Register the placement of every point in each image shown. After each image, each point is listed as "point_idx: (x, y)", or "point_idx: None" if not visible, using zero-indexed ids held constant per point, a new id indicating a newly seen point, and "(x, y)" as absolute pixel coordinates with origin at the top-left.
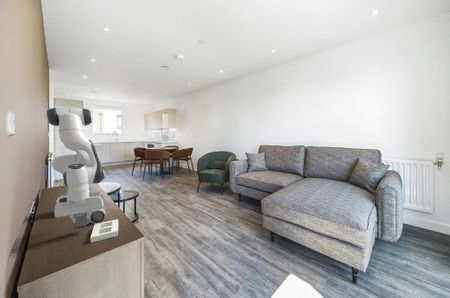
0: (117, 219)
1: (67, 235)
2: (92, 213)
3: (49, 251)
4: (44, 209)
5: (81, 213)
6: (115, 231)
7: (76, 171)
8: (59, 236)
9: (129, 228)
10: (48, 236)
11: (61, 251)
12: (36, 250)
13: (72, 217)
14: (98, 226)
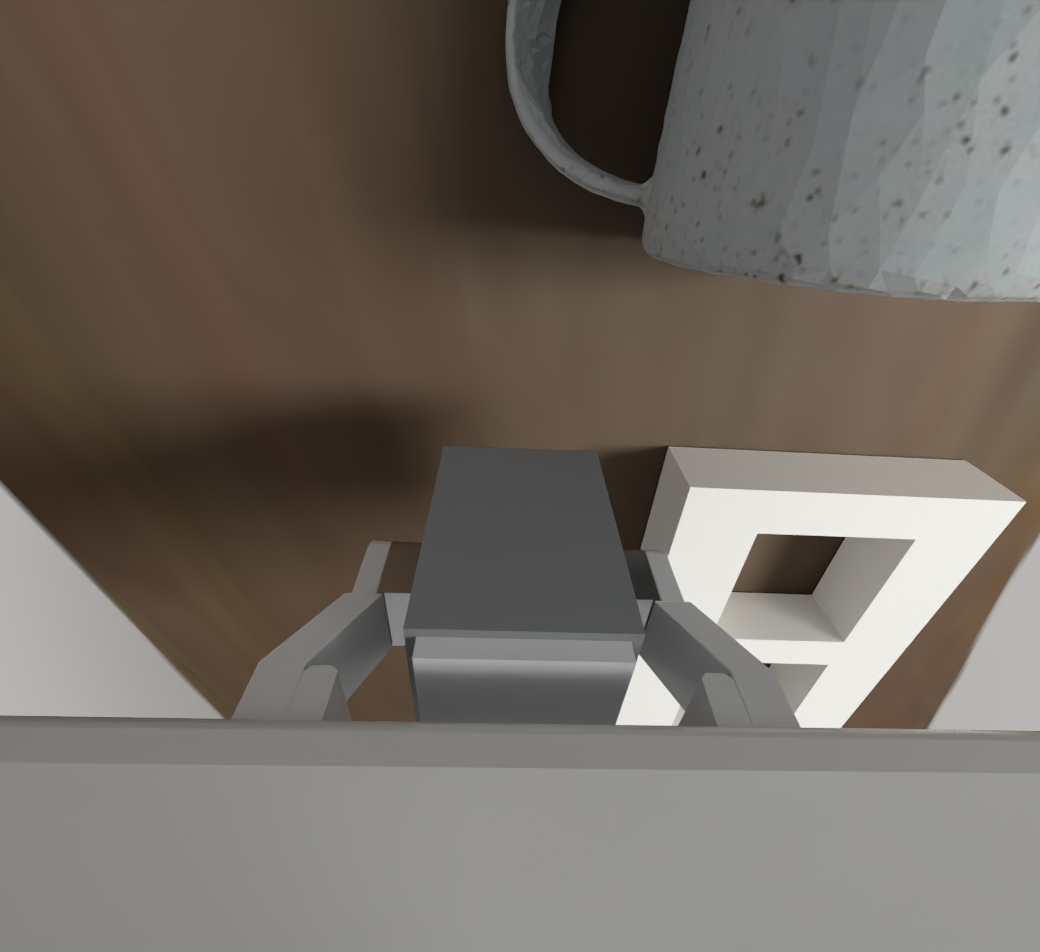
0: (1012, 510)
1: (338, 446)
2: (785, 279)
3: None
4: None
5: (527, 709)
6: None
7: None
8: (230, 414)
9: (943, 644)
10: (23, 305)
11: (406, 707)
12: (166, 611)
13: (346, 698)
14: (714, 590)
